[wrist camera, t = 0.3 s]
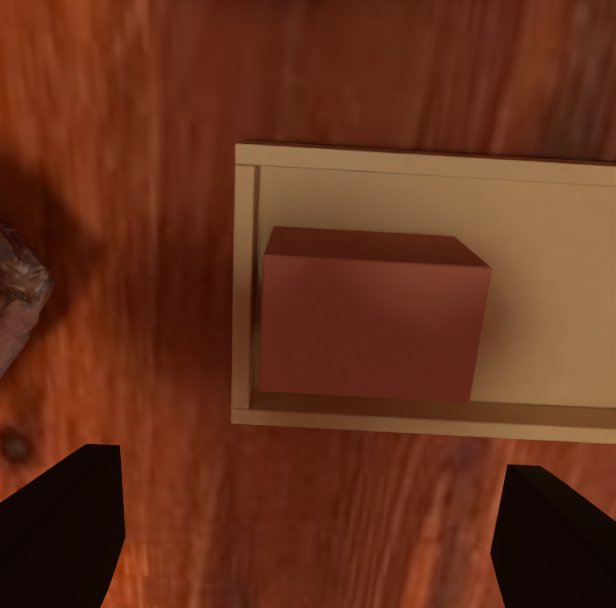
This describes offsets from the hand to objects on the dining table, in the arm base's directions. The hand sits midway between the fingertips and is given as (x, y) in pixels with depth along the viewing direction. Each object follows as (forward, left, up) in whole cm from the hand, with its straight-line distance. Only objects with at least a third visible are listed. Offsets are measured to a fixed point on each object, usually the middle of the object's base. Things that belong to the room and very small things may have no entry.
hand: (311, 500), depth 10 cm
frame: (+1, -5, -10) cm, 11 cm away
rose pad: (+1, -1, -9) cm, 10 cm away
